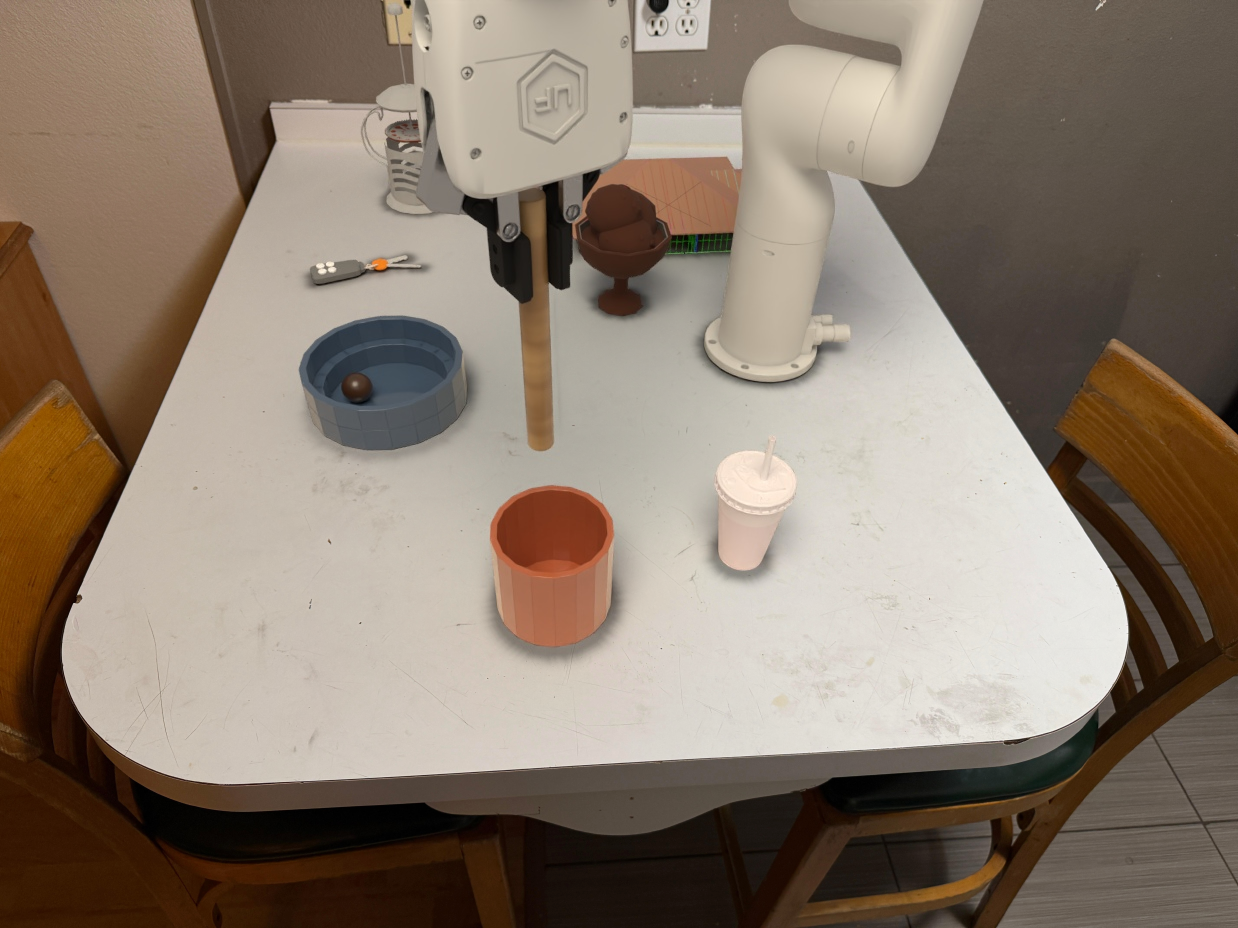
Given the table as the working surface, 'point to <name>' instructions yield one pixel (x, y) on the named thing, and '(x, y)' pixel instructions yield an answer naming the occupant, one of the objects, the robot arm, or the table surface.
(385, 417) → the mixing bowl
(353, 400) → the bead
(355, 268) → the key chain
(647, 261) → the ice cream bowl
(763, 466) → the smoothie
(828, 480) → the table surface
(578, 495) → the utensil pot
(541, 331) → the stirring stick
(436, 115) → the robot arm
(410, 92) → the french press
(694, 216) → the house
